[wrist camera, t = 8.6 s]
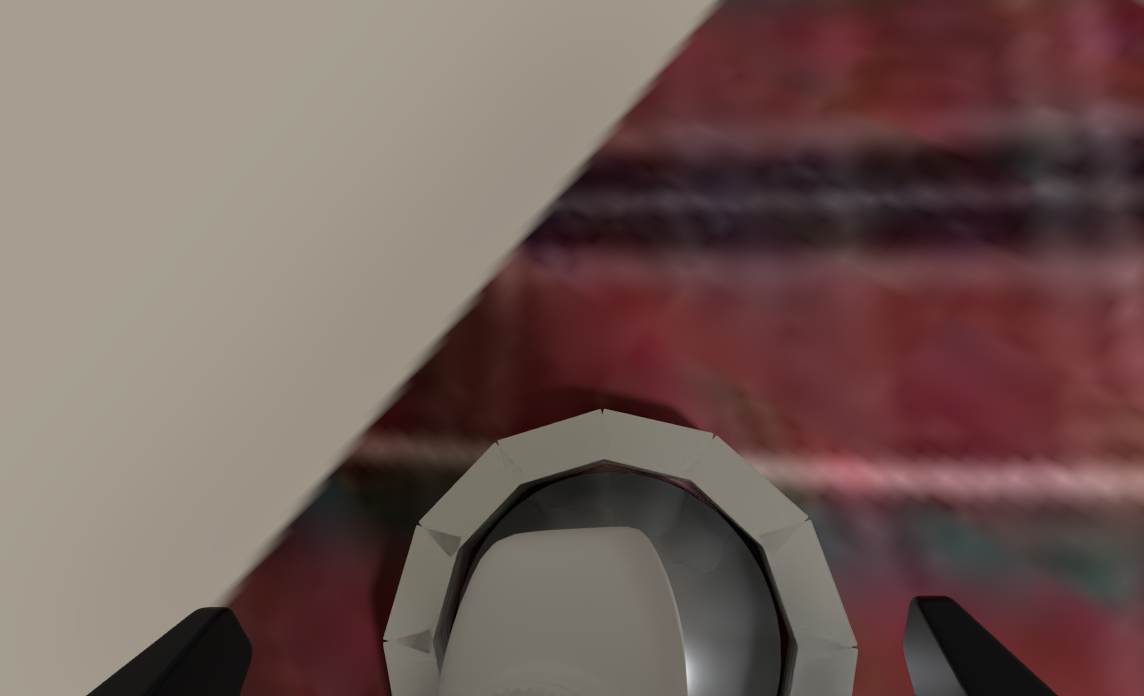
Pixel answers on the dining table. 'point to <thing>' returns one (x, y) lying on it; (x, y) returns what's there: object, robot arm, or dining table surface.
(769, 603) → the collar
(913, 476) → the dining table surface
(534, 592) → the eye dropper bottle
